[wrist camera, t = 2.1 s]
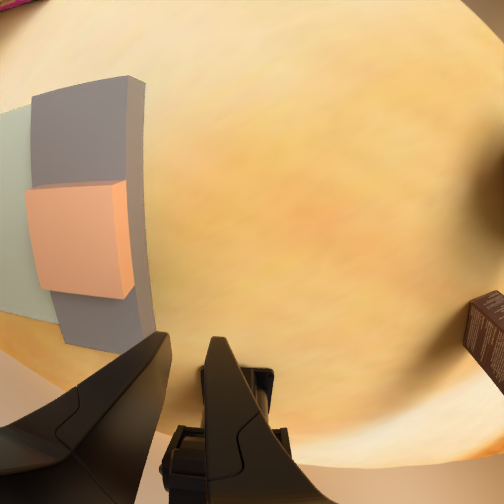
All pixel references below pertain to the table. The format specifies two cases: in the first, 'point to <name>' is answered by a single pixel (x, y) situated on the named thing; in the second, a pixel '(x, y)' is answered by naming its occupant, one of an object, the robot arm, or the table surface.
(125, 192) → the coaster
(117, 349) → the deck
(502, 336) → the box
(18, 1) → the candy bar box
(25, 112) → the mat
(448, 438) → the table surface
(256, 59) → the table surface
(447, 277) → the table surface
